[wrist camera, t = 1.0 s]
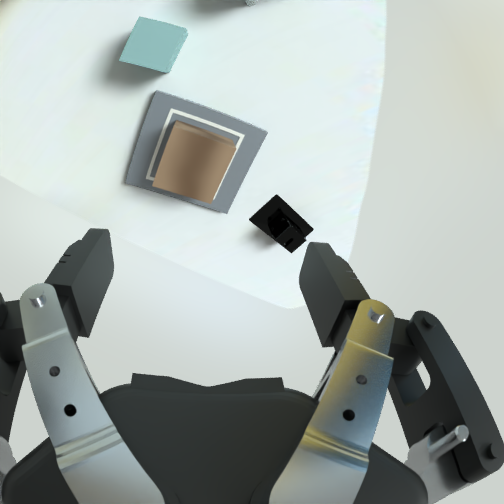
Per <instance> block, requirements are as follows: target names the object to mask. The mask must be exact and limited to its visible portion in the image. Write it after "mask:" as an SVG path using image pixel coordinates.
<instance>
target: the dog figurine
mask: <svg viewBox="0 0 504 504" xmlns="http://www.w3.org/2000/svg"><path fill="white" fill-rule="evenodd" d="M256 3H257V0H246V4H247V5H249V6H252V5H255V4H256Z"/></svg>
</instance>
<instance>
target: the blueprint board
mask: <svg viewBox="0 0 504 504" xmlns="http://www.w3.org/2000/svg"><path fill="white" fill-rule="evenodd" d="M176 120H179V121H182V122H185V123H188V124H191V125H193V126H196V127H199V128H202V129H205V130H208V131H210V132H213V133H216V134H218V135H221V136H224V137H226V138H229V139H232V140H233V142H234V145H235V147H236V151H235V153H234V155H233V158H232V160H231V162H230V164H229V166H228V168H227V170H226V172H225V174H224V177H223V179H222V181H221V183H220V185H219V187H218V190H217V192H216V194H215V196H214V198H213V201H212V203H211V204H209V203H206V202H202V201H199V200H196V199H193V198H190V197H186V196H183V195H180V194H177V193H173V192H170V191H167V190H164V189H160V188H157V187H154V186H152V185H153V182H154V179H155V176H156V173H157V170H158V167H159V164H160V161H161V158H162V155H163V153H164V150H165V147H166V144H167V142H168V139H169V137H170V134H171V131H172V129H173V126H174V124H175V122H176ZM267 133H268V132H267V131H265V130H263V129H261V128H258V127H256V126H254V125H252V124H249V123H247V122H244V121H242V120H240V119H237V118H235V117H232V116H230V115H227V114H225V113H222V112H219V111H217V110H214V109H211V108H209V107H206V106H203V105H200V104H198V103H195V102H192V101H189V100H186V99H183V98H180V97H177V96H174V95H171V94H168V93H164V92H161V91H158V90H157V91H156V92H155V95H154V97H153V100H152V102H151V105H150V108H149V110H148V113H147V116H146V118H145V121H144V124H143V127H142V130H141V132H140V135H139V138H138V141H137V145H136V148H135V151H134V154H133V157H132V161H131V164H130V167H129V171H128V175H127V178H126V182H125V183H127V184H130V185H134V186H137V187H141V188H144V189H148V190H151V191H154V192H158V193H161V194H164V195H168V196H171V197H174V198H178V199H181V200H184V201H187V202H191V203H194V204H197V205H200V206H204V207H207V208H210V209H213V210H216V211H219V212H223V213H226V214H227V213H228V210H229V208H230V206H231V204H232V202H233V200H234V198H235V196H236V194H237V192H238V190H239V188H240V186H241V184H242V182H243V180H244V178H245V176H246V174H247V172H248V170H249V168H250V166H251V164H252V162H253V160H254V158H255V156H256V154H257V152H258V151H259V149H260V147H261V145H262V143H263V141H264V139H265V137H266V135H267Z"/></svg>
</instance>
